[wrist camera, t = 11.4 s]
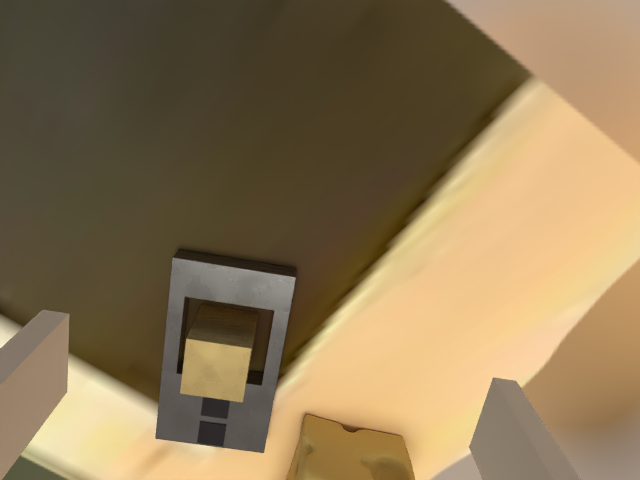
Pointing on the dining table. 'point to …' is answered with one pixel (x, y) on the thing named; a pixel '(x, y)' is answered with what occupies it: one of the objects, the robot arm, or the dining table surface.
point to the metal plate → (254, 412)
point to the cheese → (348, 454)
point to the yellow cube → (219, 353)
